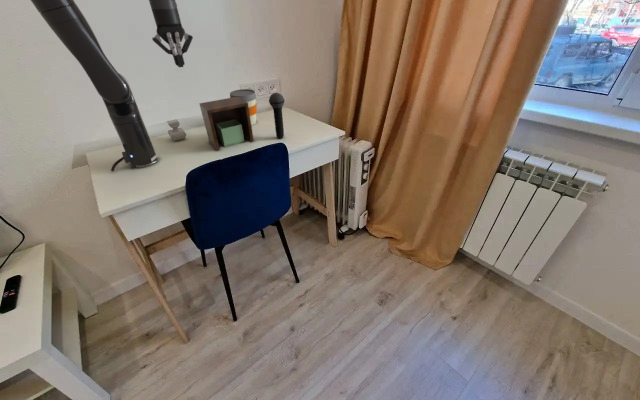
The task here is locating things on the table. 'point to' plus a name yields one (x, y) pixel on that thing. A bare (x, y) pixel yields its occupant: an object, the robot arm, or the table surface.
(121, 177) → the table surface
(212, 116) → the cubby
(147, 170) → the table surface
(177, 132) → the stamp
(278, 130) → the microphone
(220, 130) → the basket
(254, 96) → the reusable coffee cup
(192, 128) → the table surface
